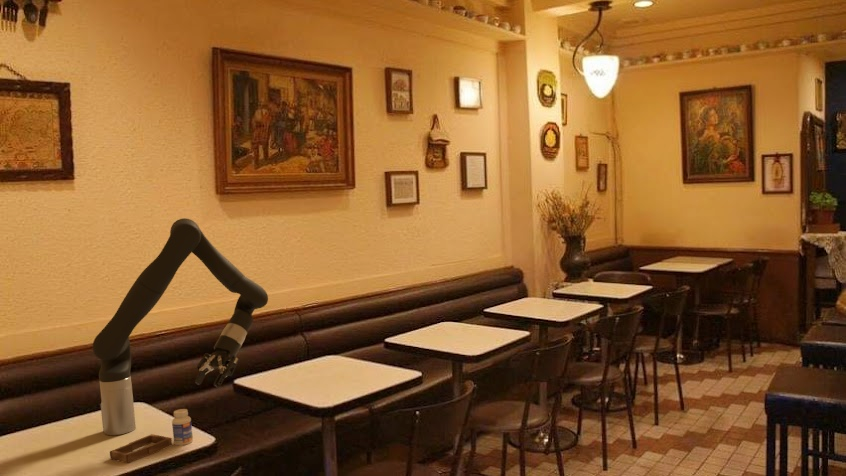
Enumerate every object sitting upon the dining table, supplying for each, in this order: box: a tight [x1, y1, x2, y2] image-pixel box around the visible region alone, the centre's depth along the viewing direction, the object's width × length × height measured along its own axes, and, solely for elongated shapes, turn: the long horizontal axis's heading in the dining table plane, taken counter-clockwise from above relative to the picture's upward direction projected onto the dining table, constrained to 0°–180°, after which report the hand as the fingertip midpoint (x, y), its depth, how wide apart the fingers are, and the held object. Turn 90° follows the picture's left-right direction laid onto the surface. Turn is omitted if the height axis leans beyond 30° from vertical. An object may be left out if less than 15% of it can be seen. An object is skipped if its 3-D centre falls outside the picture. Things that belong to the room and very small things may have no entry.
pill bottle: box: [171, 408, 194, 446], centre depth 210 cm, size 5×5×10 cm
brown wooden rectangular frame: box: [109, 433, 173, 464], centre depth 205 cm, size 9×15×2 cm, turn 149°
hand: (206, 384), depth 218 cm, fingers open, 8 cm apart
